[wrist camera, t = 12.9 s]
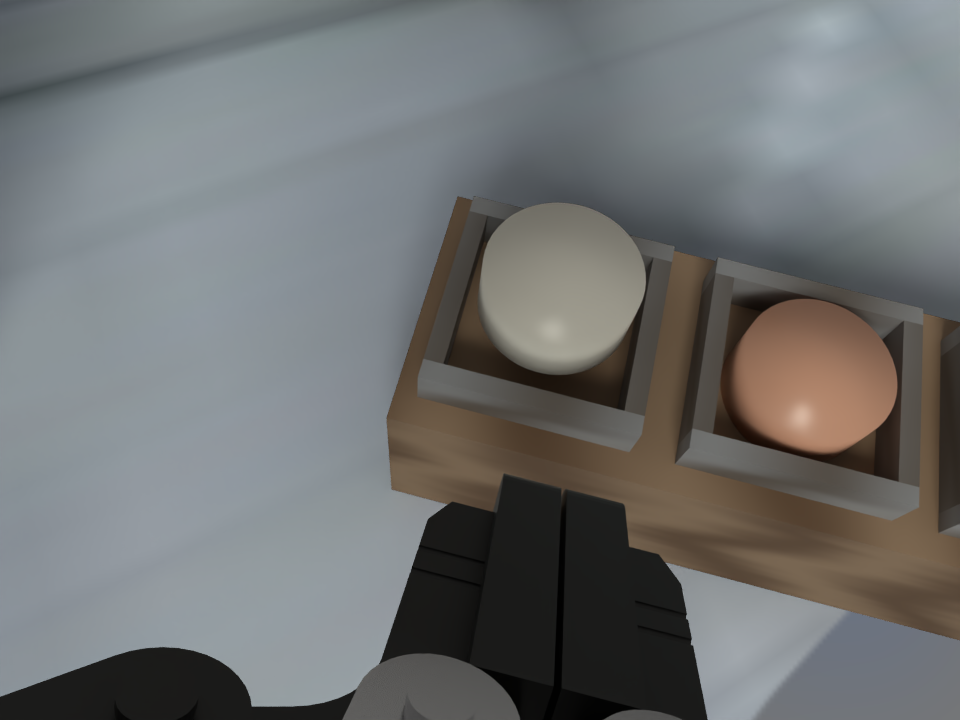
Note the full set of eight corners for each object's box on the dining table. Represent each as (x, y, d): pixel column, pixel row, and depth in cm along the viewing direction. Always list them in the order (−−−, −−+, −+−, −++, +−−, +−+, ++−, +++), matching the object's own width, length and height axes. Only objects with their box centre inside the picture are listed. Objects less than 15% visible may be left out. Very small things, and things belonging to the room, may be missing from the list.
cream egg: (460, 352, 25) (464, 320, 23) (497, 225, 27) (503, 186, 25) (614, 392, 24) (631, 363, 23) (640, 261, 26) (657, 224, 25)
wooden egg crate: (391, 489, 32) (385, 398, 24) (448, 302, 36) (460, 168, 28) (1019, 656, 31) (1233, 620, 23) (1013, 447, 35) (1197, 353, 27)
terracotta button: (711, 441, 26) (734, 417, 24) (729, 313, 28) (751, 282, 26) (860, 480, 26) (894, 459, 24) (867, 348, 28) (899, 320, 26)
